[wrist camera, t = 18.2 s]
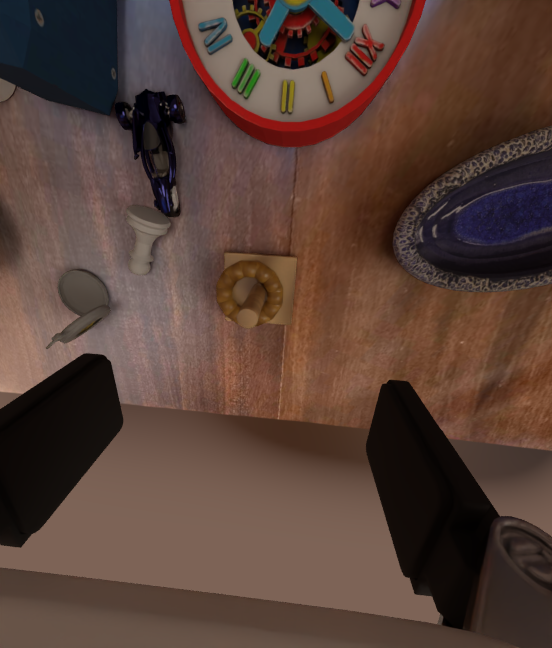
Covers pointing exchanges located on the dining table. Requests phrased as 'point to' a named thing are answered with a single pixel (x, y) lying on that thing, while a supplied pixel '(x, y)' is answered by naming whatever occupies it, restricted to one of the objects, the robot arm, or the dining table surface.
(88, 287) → the pocket watch
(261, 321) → the segmented ring
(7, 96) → the mug
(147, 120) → the toy car
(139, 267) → the chess piece
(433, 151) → the dining table surface
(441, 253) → the dish
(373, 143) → the dining table surface
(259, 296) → the stand
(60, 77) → the radio
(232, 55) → the toy clock
